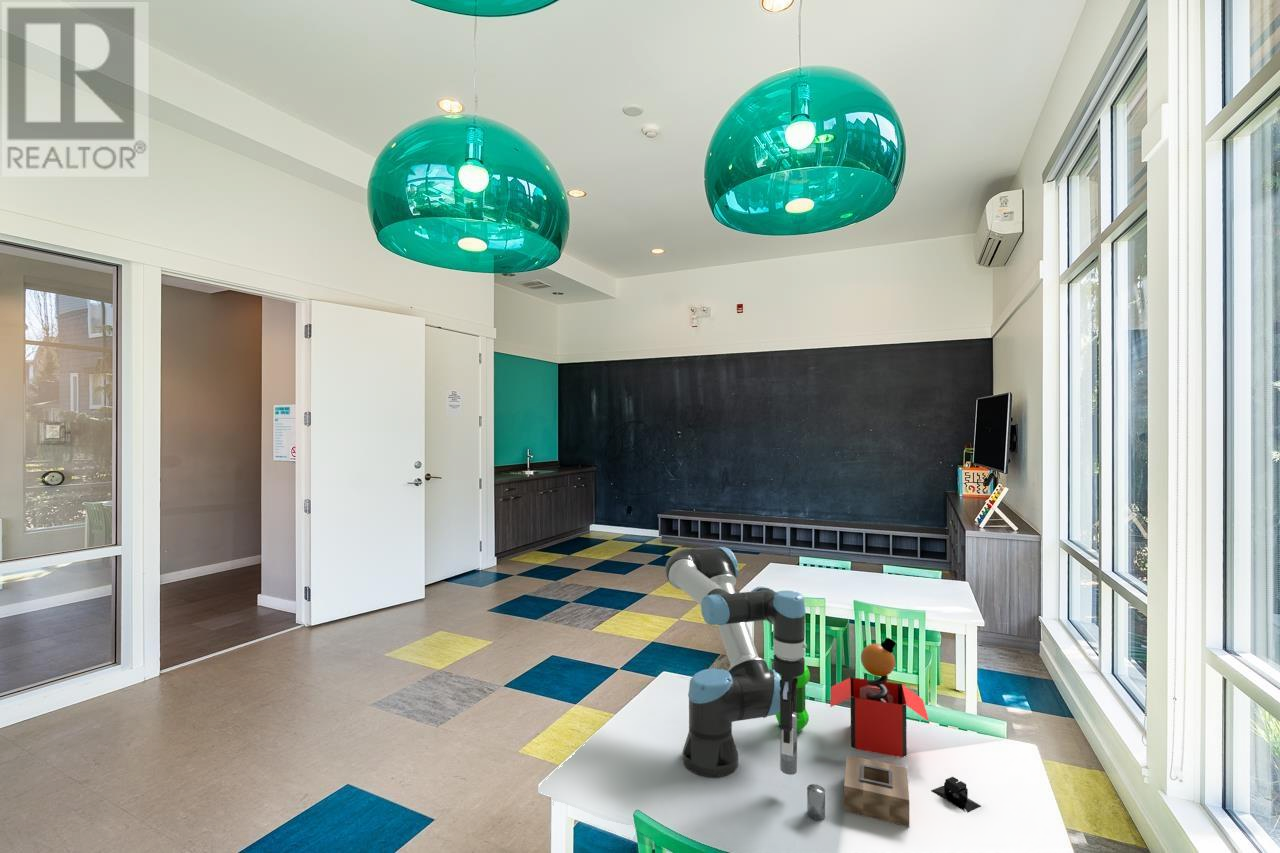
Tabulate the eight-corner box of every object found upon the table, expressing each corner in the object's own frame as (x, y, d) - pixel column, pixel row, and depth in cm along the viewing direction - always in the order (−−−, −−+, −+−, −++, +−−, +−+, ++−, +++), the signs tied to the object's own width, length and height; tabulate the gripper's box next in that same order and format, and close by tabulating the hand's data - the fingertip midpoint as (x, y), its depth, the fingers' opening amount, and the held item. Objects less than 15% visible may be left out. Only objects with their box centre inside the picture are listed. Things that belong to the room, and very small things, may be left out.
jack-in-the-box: (922, 734, 172) (921, 633, 172) (929, 762, 157) (928, 651, 158) (831, 720, 180) (831, 623, 181) (830, 745, 166) (830, 640, 166)
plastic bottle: (793, 740, 168) (793, 654, 169) (767, 725, 177) (767, 643, 177) (816, 730, 174) (816, 647, 174) (790, 716, 182) (789, 637, 183)
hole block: (844, 811, 136) (844, 784, 137) (847, 778, 149) (847, 753, 149) (909, 826, 131) (909, 798, 131) (906, 791, 144) (906, 766, 144)
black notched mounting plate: (989, 811, 137) (989, 791, 138) (970, 820, 134) (970, 800, 134) (942, 783, 149) (942, 765, 149) (923, 790, 145) (923, 772, 145)
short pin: (806, 818, 134) (806, 792, 134) (808, 807, 138) (808, 782, 138) (824, 822, 132) (824, 796, 133) (825, 812, 136) (825, 786, 136)
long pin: (779, 772, 143) (779, 715, 143) (781, 763, 146) (781, 708, 146) (795, 776, 141) (795, 719, 141) (797, 767, 145) (798, 711, 145)
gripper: (800, 671, 135) (799, 771, 135) (808, 645, 150) (808, 735, 150) (767, 665, 138) (767, 764, 137) (779, 641, 153) (778, 729, 153)
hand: (788, 749), depth 144 cm, fingers closed on long pin, 4 cm apart
